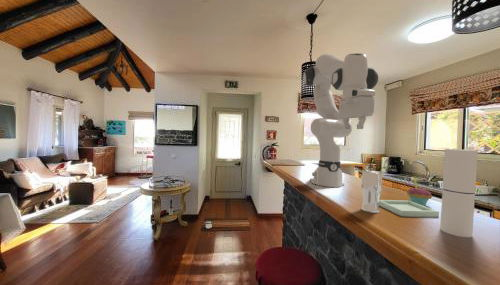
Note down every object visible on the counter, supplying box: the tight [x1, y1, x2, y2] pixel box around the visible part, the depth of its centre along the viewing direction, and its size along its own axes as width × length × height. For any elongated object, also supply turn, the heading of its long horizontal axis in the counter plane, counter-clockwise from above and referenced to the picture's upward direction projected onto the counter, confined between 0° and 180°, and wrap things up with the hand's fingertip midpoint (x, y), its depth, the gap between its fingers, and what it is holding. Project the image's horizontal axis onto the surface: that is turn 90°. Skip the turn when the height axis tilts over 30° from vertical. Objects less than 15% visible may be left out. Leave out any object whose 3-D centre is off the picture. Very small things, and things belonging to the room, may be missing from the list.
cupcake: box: [406, 177, 433, 207], centre depth 97 cm, size 9×8×12 cm
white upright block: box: [360, 169, 383, 214], centre depth 85 cm, size 7×7×15 cm
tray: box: [378, 199, 440, 218], centre depth 87 cm, size 14×14×2 cm
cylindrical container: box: [439, 148, 479, 238], centre depth 67 cm, size 7×7×25 cm
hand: (353, 129), depth 90 cm, fingers open, 8 cm apart
